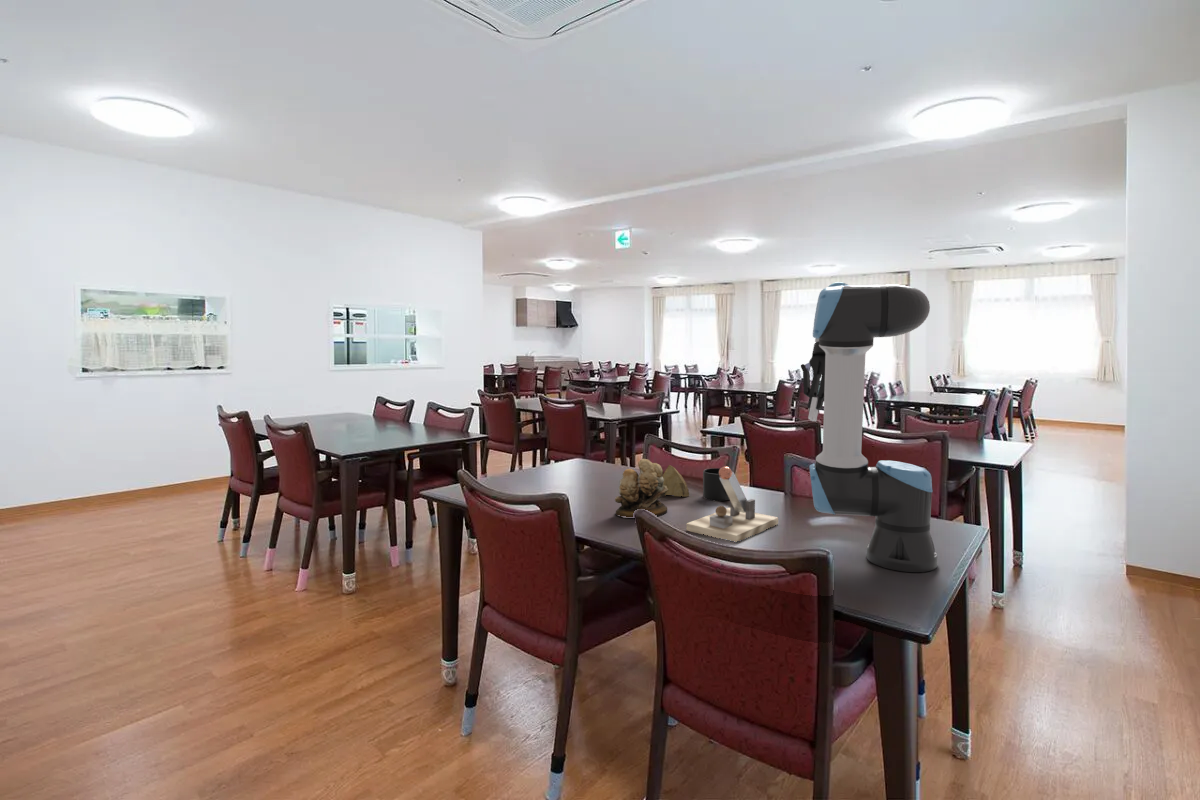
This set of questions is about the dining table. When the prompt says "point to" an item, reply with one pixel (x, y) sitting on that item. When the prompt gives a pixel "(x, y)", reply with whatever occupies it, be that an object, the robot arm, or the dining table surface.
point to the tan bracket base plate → (733, 523)
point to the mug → (713, 485)
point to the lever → (733, 489)
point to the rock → (675, 483)
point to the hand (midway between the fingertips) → (812, 419)
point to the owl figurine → (642, 490)
